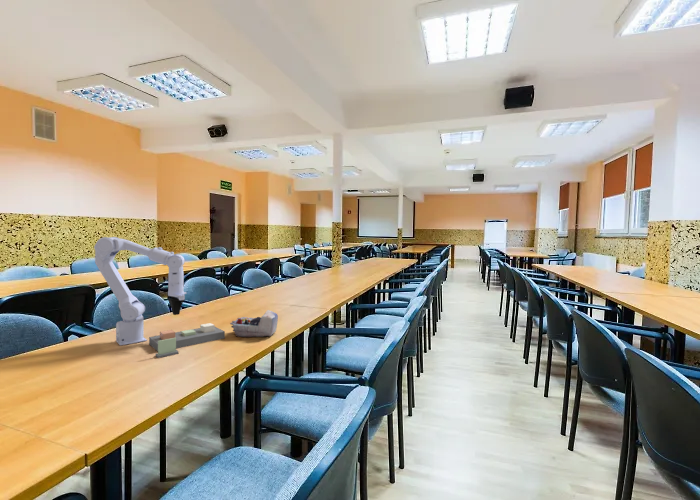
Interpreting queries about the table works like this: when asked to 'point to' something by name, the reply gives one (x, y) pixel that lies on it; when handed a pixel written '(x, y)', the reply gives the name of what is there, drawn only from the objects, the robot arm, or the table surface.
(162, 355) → the card
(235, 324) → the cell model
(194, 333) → the sage block
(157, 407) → the table surface
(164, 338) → the terracotta block
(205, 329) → the cream block
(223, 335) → the button board
